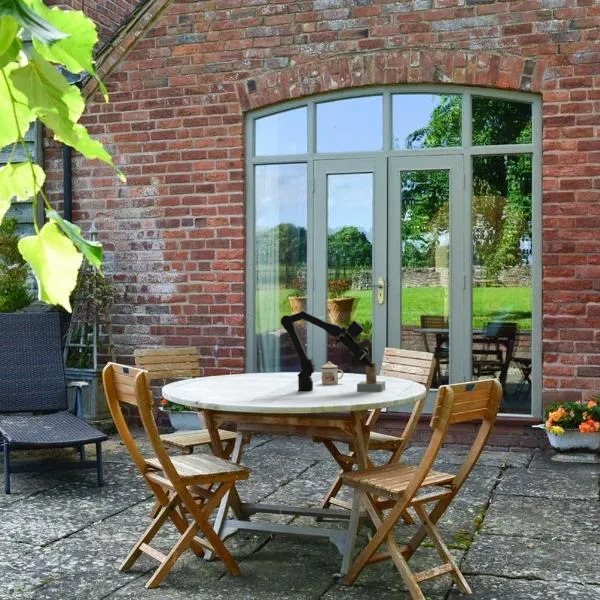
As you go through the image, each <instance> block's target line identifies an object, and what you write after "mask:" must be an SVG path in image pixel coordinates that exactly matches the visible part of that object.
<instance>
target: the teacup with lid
mask: <svg viewBox="0 0 600 600" xmlns="http://www.w3.org/2000/svg"><path fill="white" fill-rule="evenodd" d="M338 368H339V367H338V365H335V364H334V363H332V361H327V363H326V364H324V365H321V367H320V369H321V371H320V372H321V385H337V384H338V383H339V380H341V379H342V378H343V376H344V371H343V370H342V369H338ZM338 372H340V373H341V376H339V373H338Z"/></svg>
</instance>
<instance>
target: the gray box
mask: <svg viewBox="0 0 600 600" xmlns="http://www.w3.org/2000/svg"><path fill="white" fill-rule="evenodd" d="M376 381H377V382H376V383H366V381H360V382H358V383H357V384H356V391H357V392H383V391H384V390H385V389H386V381H384V380H383V381H378V380H376ZM383 389H384V390H383ZM382 390H383V391H382Z"/></svg>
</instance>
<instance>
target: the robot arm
mask: <svg viewBox="0 0 600 600" xmlns="http://www.w3.org/2000/svg"><path fill="white" fill-rule="evenodd" d="M300 320H301V321H302V320H304V321H306V322H308V323H310V324H313V325H314V326H317V327H318V328H321V329H322V330H324V331H325V332H327V333H328V334H329V335H331V337H334V338H336V339H335V342H336V344H335V345H339V344H340V343H341V345H342V346H343V347H345V348H346V350H347V351H348V352H349V353H351V354H352V355H353V360H354V361H355V362H356V363H357V362H358V363H360V364H363V365H365V366H366V365H367V366H369V367H372V368H373V367H374V366H373V364H372V363H371V362H373V360H372V359H371V356H370V355H369V354H370V351H369V349H368V348H367V347H368V346H371V345H372V344H373V342H372V340H371V339H370V338H369V337H364V338H362V340H361V341H360V342H359V341H356V340H355V339H354V338H358V337H359V336H360V335H361V334H362V333H363V332H364V331H365V327H363V325H361V324H360V323H359V322H357V321H356V320H353V321H352V322H351V323H350V325H349V326H348V327H343V326H342V325H339V324H336V323H332V322H328V321H326V320H324V319H321V318H319V317H317V316H315V315H313V314H311V313H308V312H307V311H305V310H303V311H302V310H301V311H299V312H297V313H295V314H287V315H283V316H282V317H281V319H280V324H281V325H282V327H283V328H284V330H285V331H286V333H287V334H288V335H289V338H290V341H291V343H292V345H293V347H294V349H295V351H296V354H297V356H298V358H299V359H298V360H299V362H300V368H301V371H300V372H299V373H298V374H297V378H298V380H297V381H298V383H297V384H298V387H297V388H298V389H297V391H298V392H310V391H312V390H314V380H313V379H312V374H314V373H315V371H316V364H315V362H314V358H310V357H309V356H308V354H307V352H306V350H305V347H304V345H303V343H302V341H301V338H300V336H299V334H298V331H297V326H296V323H297V322H299V321H300ZM343 334H344V335H343ZM337 337H339V338H337Z"/></svg>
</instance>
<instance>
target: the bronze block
mask: <svg viewBox="0 0 600 600" xmlns="http://www.w3.org/2000/svg"><path fill="white" fill-rule="evenodd" d="M371 363H372V364H373V366H374V367H373V368H372V367H369V366H367V365H365V375H366V377H365V380H366V383H376V382H377V381H378V380H377V362H376V361H372V362H371Z"/></svg>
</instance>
